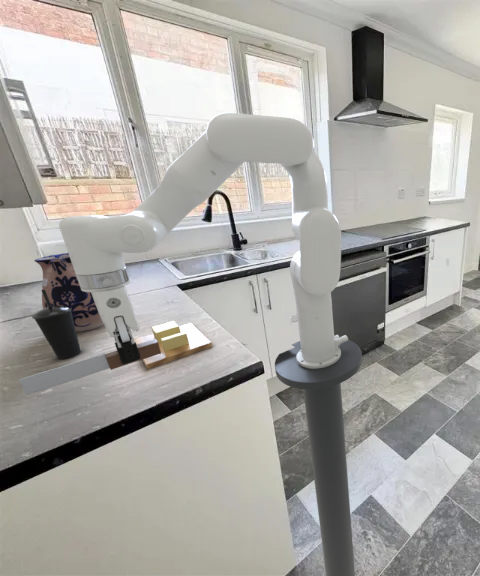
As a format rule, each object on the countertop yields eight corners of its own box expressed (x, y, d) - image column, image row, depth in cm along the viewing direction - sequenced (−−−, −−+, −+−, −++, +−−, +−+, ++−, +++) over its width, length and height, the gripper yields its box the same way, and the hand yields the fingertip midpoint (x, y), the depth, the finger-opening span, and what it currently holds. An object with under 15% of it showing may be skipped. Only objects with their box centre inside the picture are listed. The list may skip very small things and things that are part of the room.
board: (191, 326, 105) (190, 322, 105) (212, 346, 92) (211, 342, 92) (133, 343, 94) (132, 339, 94) (147, 369, 81) (146, 364, 81)
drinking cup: (47, 365, 84) (16, 297, 77) (55, 353, 90) (27, 288, 83) (84, 356, 88) (58, 290, 81) (89, 345, 94) (66, 283, 87)
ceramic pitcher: (47, 344, 95) (13, 265, 87) (62, 320, 111) (35, 253, 103) (119, 328, 105) (95, 256, 96) (123, 309, 121) (103, 246, 113)
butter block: (176, 330, 99) (173, 320, 98) (181, 336, 95) (179, 326, 94) (154, 337, 95) (151, 326, 94) (158, 343, 91) (155, 332, 90)
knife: (159, 350, 72) (155, 336, 71) (161, 353, 71) (157, 339, 70) (26, 392, 58) (19, 376, 57) (26, 397, 57) (18, 381, 55)
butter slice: (187, 341, 92) (184, 331, 91) (189, 344, 91) (186, 333, 90) (163, 349, 88) (160, 338, 87) (165, 351, 87) (162, 340, 86)
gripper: (135, 283, 59) (159, 365, 65) (122, 268, 69) (143, 340, 75) (82, 293, 54) (113, 381, 60) (76, 275, 64) (103, 352, 70)
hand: (130, 358), depth 68 cm, fingers closed on knife, 2 cm apart
